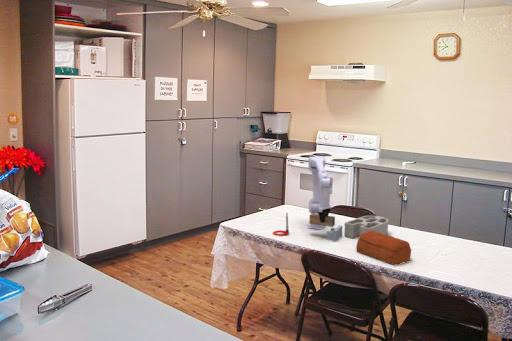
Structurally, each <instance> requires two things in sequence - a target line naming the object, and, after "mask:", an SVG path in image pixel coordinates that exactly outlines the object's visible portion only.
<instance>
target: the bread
mask: <svg viewBox="0 0 512 341" xmlns="http://www.w3.org/2000/svg"><path fill="white" fill-rule="evenodd" d="M356 251H357V252H359V253H360V254H363V255H365V254H366V256H368V255H369V256H368V257H371V256H372V257H371V258H374V257H375V258H374V259H377V260H379V259H380V261H382V260H383V261H382V262H384V261H386V262H385V263H387V262H389V263H388V264H390V263H393V264H392V265H394V264H400V263H403V262H406V263H408V262H407V261H409V262H410V261H411V257H412V248H411V245H410V242H408V241H406V240H404V239H400V238H397V237H394V236H392V235H388V234H387V235H384V234H382V233H378V232H375V231H369V232H366V233H362V234H361V235H360V236H359V237H358V240H357V242H356ZM403 264H404V263H403ZM400 265H401V264H400Z"/></svg>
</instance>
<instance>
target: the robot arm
mask: <svg viewBox="0 0 512 341" xmlns="http://www.w3.org/2000/svg"><path fill="white" fill-rule="evenodd" d="M326 160H327V159H326V157H325V156H309V157H308V162H307V164H308V171H309V172H311V176H312V177H311V179H312V180H311V181H312V182H311V183H312V198H311V199H310V200H309V201H308V212H309V214H310V215H311V214H318V215H319V217H320V222H321V223H324V222H325V217H326V216H330V215H329V214H330V212H331V210H332V206H331V203H330V200H331V199H330V197H331V195H330V194H331V188H332V184H333V182H332V178H331V177H330V176H329V174H328V172H327V170H325V166H326V162H327V161H326ZM325 227H326V226H323V225H316V224H310V226H308V229H313V230H322V229H324V228H325Z"/></svg>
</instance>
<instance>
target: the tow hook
mask: <svg viewBox="0 0 512 341" xmlns="http://www.w3.org/2000/svg"><path fill="white" fill-rule="evenodd" d="M289 229H290V228H289V216H288V212H285V230H283V229H282V230H281V229H280V230H274V231H273V232H272V234H273V235H274V236H277V235H278V237H279V236H289V234H290V231H289Z"/></svg>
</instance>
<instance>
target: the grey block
mask: <svg viewBox="0 0 512 341" xmlns="http://www.w3.org/2000/svg"><path fill="white" fill-rule="evenodd" d="M343 226H344V225H338V226H337V227H331V228H330V230H327V231H326V240H329V241H332V242H337V241H338V240H340V238H341V237H342V236H343Z"/></svg>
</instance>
